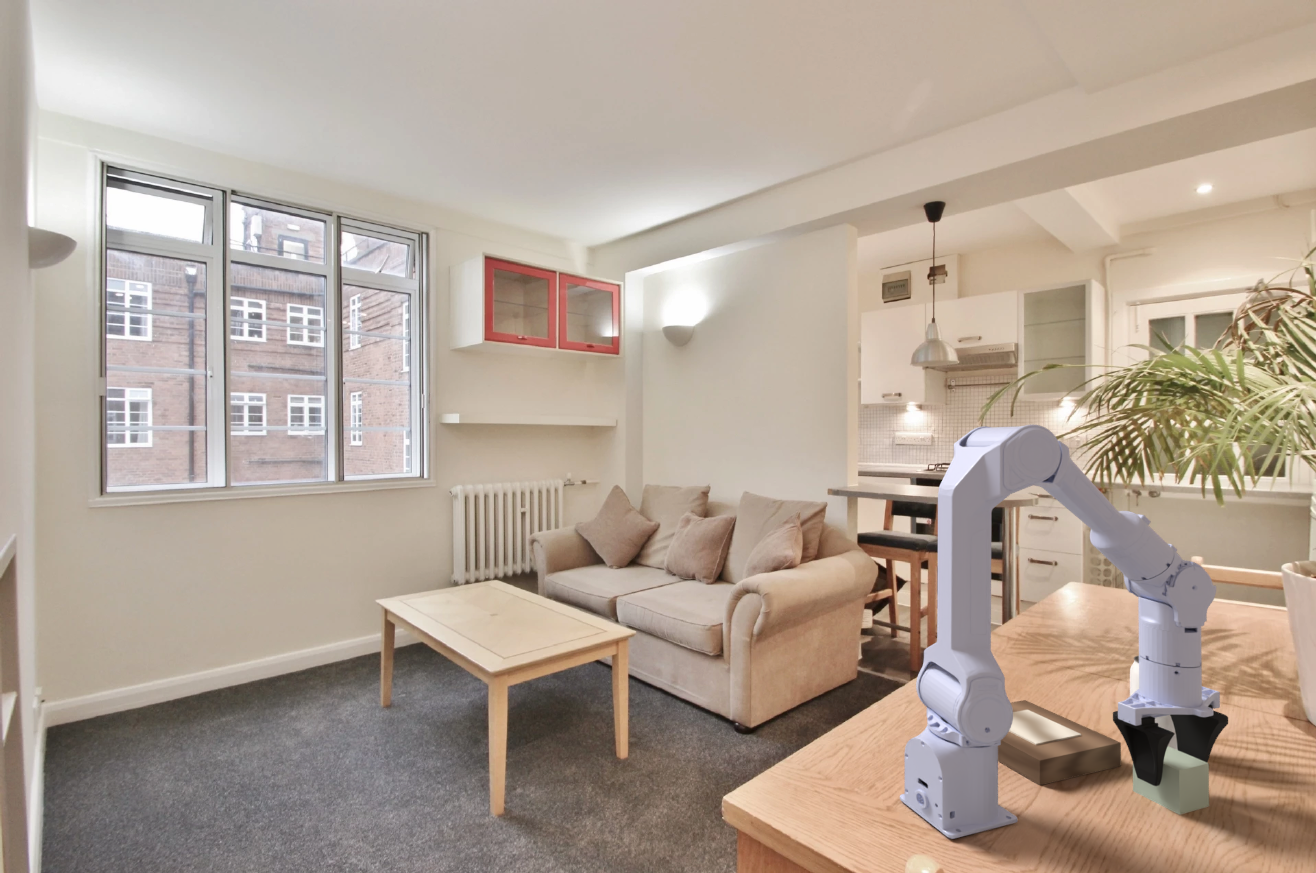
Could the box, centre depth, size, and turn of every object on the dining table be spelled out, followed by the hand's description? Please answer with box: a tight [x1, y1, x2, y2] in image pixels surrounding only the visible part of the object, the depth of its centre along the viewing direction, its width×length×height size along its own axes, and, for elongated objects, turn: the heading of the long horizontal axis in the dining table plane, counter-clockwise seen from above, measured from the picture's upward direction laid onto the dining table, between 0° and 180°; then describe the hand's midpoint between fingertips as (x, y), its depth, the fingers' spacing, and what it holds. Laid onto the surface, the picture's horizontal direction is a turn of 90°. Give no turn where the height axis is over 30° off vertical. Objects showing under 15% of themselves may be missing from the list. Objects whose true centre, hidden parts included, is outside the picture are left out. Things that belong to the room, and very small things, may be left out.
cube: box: [1132, 746, 1210, 816], centre depth 73 cm, size 5×5×5 cm
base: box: [998, 699, 1122, 786], centre depth 85 cm, size 14×14×3 cm
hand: (1170, 775), depth 73 cm, fingers open, 7 cm apart
